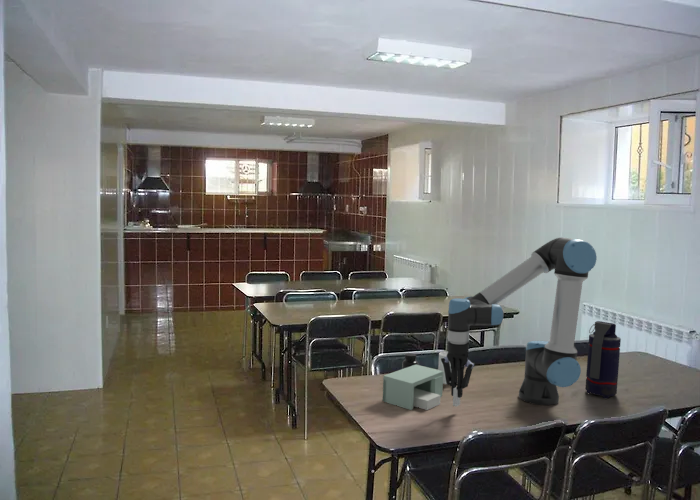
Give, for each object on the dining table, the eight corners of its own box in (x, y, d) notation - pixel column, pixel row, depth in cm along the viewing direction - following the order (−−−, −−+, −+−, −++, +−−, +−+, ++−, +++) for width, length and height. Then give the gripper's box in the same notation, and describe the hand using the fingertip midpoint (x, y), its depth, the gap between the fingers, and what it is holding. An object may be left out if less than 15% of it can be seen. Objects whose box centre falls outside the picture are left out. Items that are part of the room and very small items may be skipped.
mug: (464, 386, 245) (466, 358, 244) (446, 387, 242) (447, 359, 241) (451, 377, 256) (452, 351, 255) (433, 379, 253) (434, 352, 252)
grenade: (592, 387, 249) (597, 318, 246) (621, 394, 240) (626, 323, 238) (578, 394, 239) (583, 322, 237) (607, 402, 231) (613, 327, 228)
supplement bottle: (419, 381, 249) (421, 353, 248) (414, 385, 243) (416, 357, 242) (404, 378, 252) (405, 351, 251) (399, 383, 246) (400, 355, 245)
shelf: (443, 396, 231) (444, 371, 230) (411, 410, 214) (413, 383, 213) (414, 388, 240) (415, 364, 239) (382, 401, 223) (383, 375, 222)
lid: (440, 404, 222) (440, 395, 222) (427, 410, 215) (427, 400, 215) (409, 395, 231) (409, 386, 231) (396, 400, 224) (396, 391, 224)
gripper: (479, 342, 210) (477, 406, 212) (447, 336, 218) (446, 398, 220) (469, 346, 204) (467, 412, 206) (437, 340, 212) (435, 403, 214)
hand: (456, 405), depth 213 cm, fingers closed
